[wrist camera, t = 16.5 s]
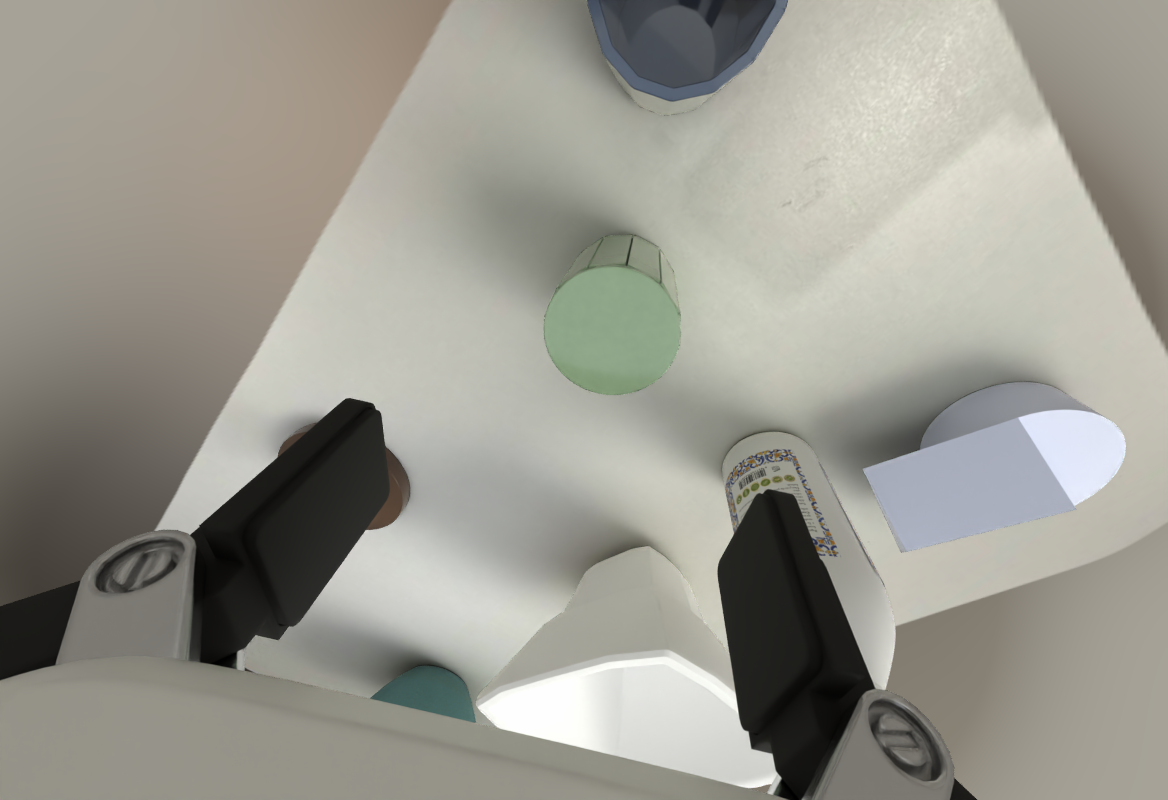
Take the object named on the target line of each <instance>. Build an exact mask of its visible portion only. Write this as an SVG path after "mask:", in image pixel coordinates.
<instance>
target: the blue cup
mask: <svg viewBox="0 0 1168 800" xmlns="http://www.w3.org/2000/svg"><path fill="white" fill-rule="evenodd" d="M787 3H788V0H587V5H588V8H589V12H590V15H591V18H592V21H593V25H594V28H595V31H596V35H597V38H598V41H599V44H600V48H601V51H602V54H603V55H604V57H605V59H606V61H607V63H608V64H609V66H610V68H611V70H612V71H613V73H614V75H615V77H616V79H617V80H618V82H619V84H620V85H621V87H622V88H623V89H624V90H625V91H626V92H627V93H628V95H629V96H630V97H631V98H632V99H633V100H634V101H635V102H636V104H637V105H638V106H639V107H641V108H644V109H647V110H649V111H651V112H654V113H658V114H661V115H664V116H669V115H674V114H680V113H684V112H688V111H693V110H695V109H697V108H698V107H699V106H701V105H702V104H703V103H704V102H706V101H707V100H708V99H710V98H711V97H712V96H713V95H715V94H716V93H717V92H719V91H720V90H721V89H722V88H723V87H725V86H726V85H727V84H728V83H729V82H731V81H732V80H733V79H734V78H735V77H737V76H738V75H739V74H740V73H741V72H743V71H744V70H745V69H746V68H747V67H749V66H750V65H751V64H752V63H753V62H754V61H755V60H756V58H757V57H758V55H759V53H760V52H761V50H762V48H763V47H764V45H765V43H766V42H767V40H768V39H769V37H770V35H771V34H772V32H773V30H774V29H775V27H776V25H777V24H778V22H779V21H780V19H781V17H782V16H783V14H784V12H785V9H786V7H787Z"/></svg>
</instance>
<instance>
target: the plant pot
mask: <svg viewBox="0 0 1168 800" xmlns="http://www.w3.org/2000/svg"><path fill="white" fill-rule="evenodd" d="M370 699H374V700H378V701H382V702H387V703H391V704H396V705H400V706H404V707H409V708H413V709H418V710H422V711H426V712H431V713H435V714H439V715H443V716H448V717H452V718H456V719H461V720H465V721H469V722H474V723H476V721H475V715H474V710H473V706H472V702H471V698H470V695H469V691H468V689H467V686H466V685H465V683H464V682H463V680H462V679H461V678H459V677H458V676H457V675H455V674H454V673H452V672H450V671H448V670H445V669H442V668H439V667H435V666H418V667H415V668H413V669H411V670H409V671H407V672H405V673H404V674H402V675H400V676H399V677H397V678H396V679H394V680H393V681H391V682H390V683H388V684H387V685H386V686H384V687H383V688H382V689H380V690H379V691H378V692H377V693H376V694H374V695H373V696H372V697H371V698H370Z"/></svg>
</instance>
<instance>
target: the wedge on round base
mask: <svg viewBox="0 0 1168 800" xmlns="http://www.w3.org/2000/svg"><path fill="white" fill-rule="evenodd" d="M1125 452H1126V443H1125V438H1124V436H1123V433H1122V432H1121V430H1120V429H1119V428H1118V426H1116V425H1115V424H1114V423H1113V422H1112V421H1110V420H1109V419H1107V418H1105V417H1104V416H1102V415H1100V414H1099V413H1097V412H1095V411H1094V410H1092V409H1090V408H1089V407H1087V406H1086V405H1084V404H1082V403H1081V402H1079V401H1077V400H1076V399H1074V398H1072V397H1071V396H1069V395H1067V394H1066V393H1064V392H1062V391H1060V390H1059V389H1057V388H1055V387H1052V386H1049V385H1046V384H1041V383H1034V382H1013V383H1005V384H1000V385H995V386H991V387H988V388H985V389H982V390H979V391H976V392H974V393H972V394H969V395H967V396H965V397H963V398H962V399H960V400H958V401H956V402H955V403H953V404H952V405H950V406H949V407H948V408H946V409H945V410H944V411H942V412H941V413H940V414H939V415H938V416H937V417H936V418H935V419H934V420H933V422H932V423H931V424H930V425H929V427H928V428H927V430H926V432H925V433H924V436H923V438H922V441H921V444H920V450H918V451H915V452H912V453H909V454H906V455H903V456H900V457H897V458H894V459H891V460H888V461H885V462H882V463H879V464H876V465H873V466H870V467H867V468H864V469H863V471H864V473H865V475H866V477H867V479H868V482H869V484H870V486H871V488H872V490H873V493H874V495H875V497H876V499H877V501H878V503H879V506H880V508H881V510H882V512H883V514H884V517H885V519H886V521H887V523H888V525H889V528H890V530H891V532H892V534H893V536H894V538H895V541H896V543H897V545H898V547H899V549H900V552H901V553H902V552H908V551H912V550H916V549H920V548H924V547H928V546H932V545H936V544H940V543H944V542H948V541H952V540H956V539H960V538H964V537H968V536H972V535H976V534H980V533H984V532H988V531H992V530H996V529H1000V528H1004V527H1008V526H1012V525H1016V524H1020V523H1024V522H1028V521H1032V520H1036V519H1040V518H1044V517H1049V516H1053V515H1057V514H1061V513H1065V512H1069V511H1073V510H1076V508H1075V505H1077V504H1079V503H1080V502H1082V501H1084V500H1086V499H1087V498H1089V497H1090V496H1092V495H1093V494H1095V493H1096V492H1098V491H1099V490H1100V489H1101V488H1103V487H1104V486H1105V485H1106V484H1107V483H1108V482H1109V481H1110V480H1111V479H1112V478H1113V476H1114V475H1115V474H1116V473H1117V471H1118V470H1119V468H1120V466H1121V464H1122V462H1123V460H1124V457H1125Z"/></svg>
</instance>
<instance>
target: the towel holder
mask: <svg viewBox="0 0 1168 800" xmlns="http://www.w3.org/2000/svg"><path fill="white" fill-rule="evenodd" d="M316 424H317V423H314V424H310V425H307V426H304V427H302V428H301V429H299V430H298V431H297V432H295V433H294V434H293V435H292V436H290V437H289V438H288V439H287V440H286V441H285V442H284V443H283V444H282V446H281V447H280V450H279V453H278V457H279V456H280V455H281V454H282V453H283V452H285V451H286V450H287V449H288V448H289V447H290V446H291V445H293V444H294V443H295V442H296V441H297V440H298V439H300V438H301V437H302V436H303V435H304V434H305V433H306V432H308V431H309V430H310V429H311V428H312V427H313V426H314V425H316ZM385 450H386V458H387V466H388V475H389V483H390V493H389V496H388V499H387V501H386V502H385V504H384V505H383V507H382V508H381V509H380V511H379V512H378V513H377V515H376V516H375V518H374V519H373V520H372V522H371V523H370V525H369V526H368V527H367V529H366V530H373V529H379V528H383V527H385V526H388V525H389V524H391V523H392V522H394V521H395V520H396V519H397V518H398V516H399V515H400V513H401V512H402V510H403V509H404V508H405V506H406V505H407V502H408V500H409V496H410V486H409V481H408V477H407V475H406V473H405V471H404V469H403V467H402V465H401V464H400V462H399V461H398V460H397V458H396V457H395V456H394V455H393V454H392V453H391V452H390V451H389V450H388V449H387V448H386V447H385Z"/></svg>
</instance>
